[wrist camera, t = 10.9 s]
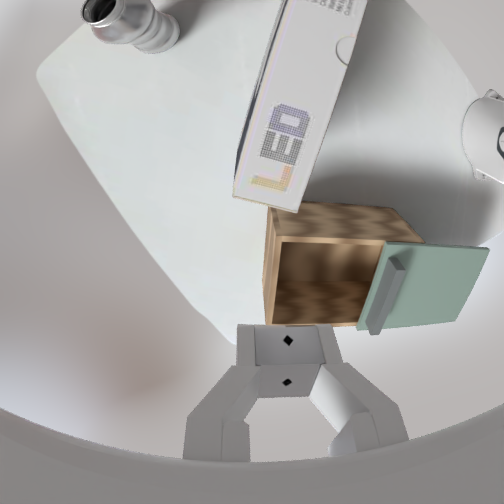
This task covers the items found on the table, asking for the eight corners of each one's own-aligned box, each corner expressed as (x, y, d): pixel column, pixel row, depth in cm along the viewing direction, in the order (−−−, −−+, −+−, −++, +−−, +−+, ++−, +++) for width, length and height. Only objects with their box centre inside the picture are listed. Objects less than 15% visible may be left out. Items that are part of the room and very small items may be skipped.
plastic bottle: (185, 49, 33) (138, 23, 16) (140, 60, 34) (68, 50, 17) (180, 12, 30) (134, -35, 13) (136, 23, 30) (66, -7, 13)
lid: (487, 247, 37) (499, 259, 34) (453, 318, 46) (461, 331, 43) (384, 241, 36) (396, 256, 33) (355, 327, 45) (362, 344, 42)
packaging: (292, -28, 27) (323, -92, 10) (331, -15, 28) (387, -66, 11) (236, 149, 42) (230, 197, 25) (276, 159, 43) (298, 214, 26)
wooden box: (392, 208, 47) (425, 242, 37) (371, 281, 56) (392, 323, 45) (268, 199, 46) (275, 235, 36) (262, 280, 55) (266, 327, 44)
